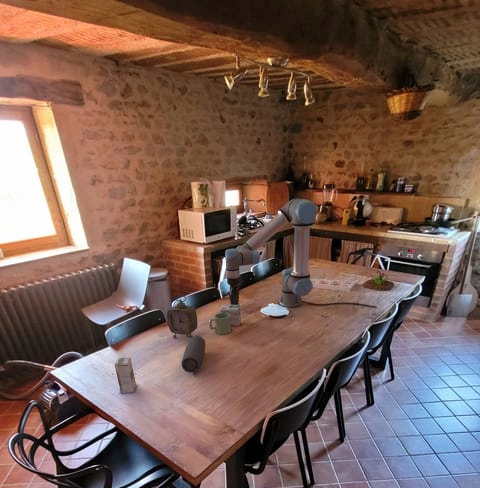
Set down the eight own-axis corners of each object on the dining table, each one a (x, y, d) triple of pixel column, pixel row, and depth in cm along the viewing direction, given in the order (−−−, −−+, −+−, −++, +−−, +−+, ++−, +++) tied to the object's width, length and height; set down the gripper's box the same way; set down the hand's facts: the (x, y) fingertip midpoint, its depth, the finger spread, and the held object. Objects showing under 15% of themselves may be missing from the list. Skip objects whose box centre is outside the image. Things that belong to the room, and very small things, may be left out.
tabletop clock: (170, 338, 201) (163, 295, 189) (178, 332, 208) (172, 290, 196) (193, 341, 196) (188, 297, 184) (200, 334, 204) (195, 292, 192)
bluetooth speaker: (189, 352, 185) (187, 334, 180) (207, 351, 185) (205, 334, 180) (181, 375, 166) (178, 356, 161) (201, 375, 165) (199, 355, 160)
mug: (229, 327, 211) (228, 312, 206) (231, 333, 204) (230, 317, 199) (209, 329, 209) (208, 314, 205) (211, 335, 202) (209, 319, 197)
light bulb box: (241, 320, 217) (240, 304, 211) (239, 326, 212) (238, 309, 205) (223, 319, 219) (222, 304, 212) (222, 325, 214) (220, 309, 207)
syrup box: (123, 386, 160) (116, 357, 153) (136, 385, 160) (130, 356, 153) (120, 393, 155) (113, 364, 148) (134, 392, 155) (127, 363, 148)
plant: (369, 280, 275) (371, 266, 270) (396, 284, 265) (398, 269, 259) (360, 288, 261) (362, 272, 256) (388, 292, 251) (390, 276, 245)
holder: (291, 284, 276) (291, 281, 275) (300, 278, 289) (300, 274, 288) (349, 291, 255) (350, 288, 254) (356, 284, 268) (357, 281, 267)
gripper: (231, 273, 214) (233, 310, 225) (223, 279, 203) (225, 318, 215) (243, 274, 211) (244, 311, 223) (235, 280, 201) (237, 319, 212)
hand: (235, 315), depth 219 cm, fingers closed
